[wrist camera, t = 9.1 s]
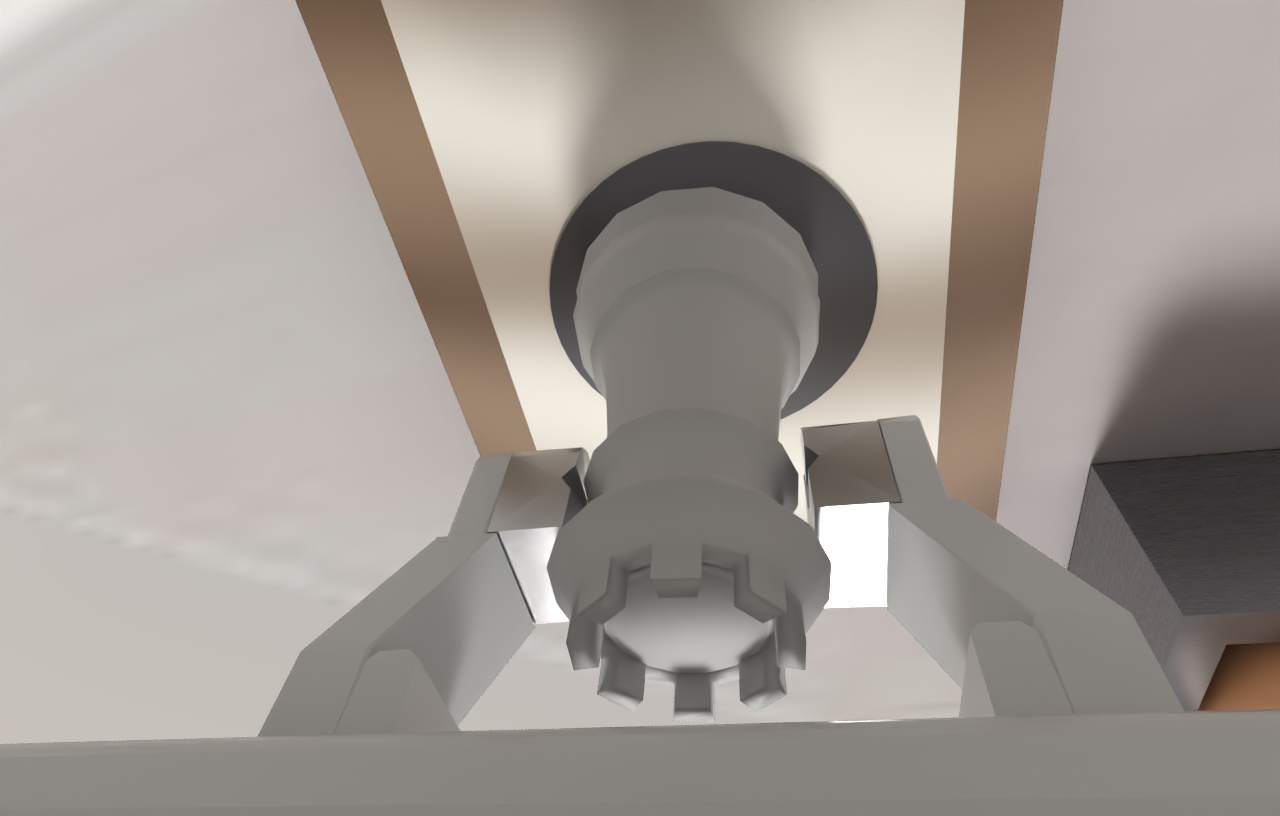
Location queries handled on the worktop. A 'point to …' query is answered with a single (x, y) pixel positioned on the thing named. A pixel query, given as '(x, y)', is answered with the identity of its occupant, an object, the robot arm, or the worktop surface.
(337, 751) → the robot arm
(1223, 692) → the button
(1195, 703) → the button housing
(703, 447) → the rook chess piece
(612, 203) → the board
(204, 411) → the worktop surface
